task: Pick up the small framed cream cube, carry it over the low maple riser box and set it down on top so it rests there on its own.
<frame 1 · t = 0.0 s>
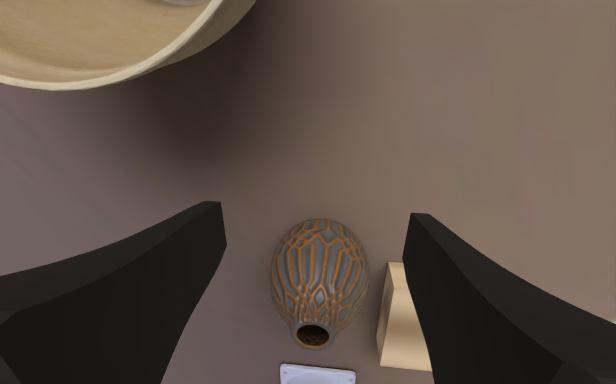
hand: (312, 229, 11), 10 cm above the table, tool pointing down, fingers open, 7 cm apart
vase: (322, 240, 24), on the table
maple riser: (433, 305, 25), on the table
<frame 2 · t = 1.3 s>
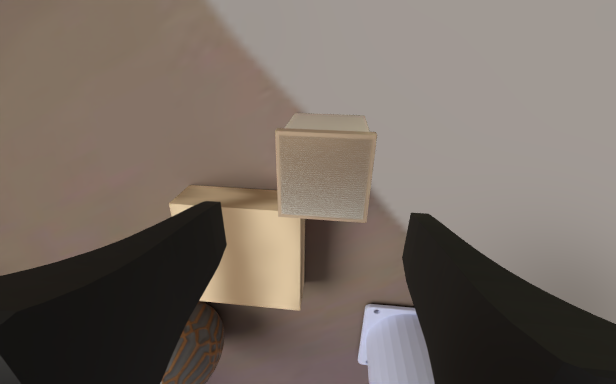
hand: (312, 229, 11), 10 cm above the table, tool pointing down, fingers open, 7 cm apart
vase: (200, 313, 29), on the table
framed cream cube: (327, 147, 20), on the table
maple riser: (250, 237, 24), on the table
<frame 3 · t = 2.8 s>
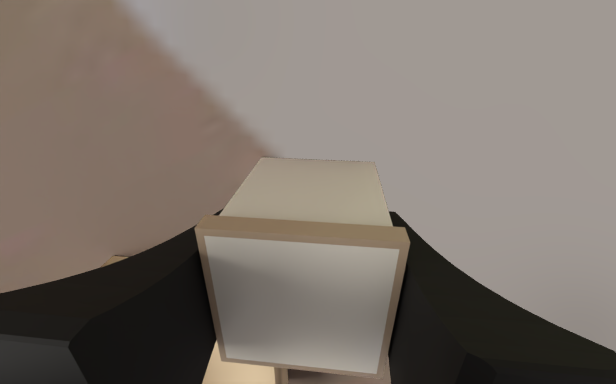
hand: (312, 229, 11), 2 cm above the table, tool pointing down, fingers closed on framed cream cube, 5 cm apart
framed cream cube: (315, 208, 12), on the table, touching gripper
maple riser: (209, 323, 17), on the table
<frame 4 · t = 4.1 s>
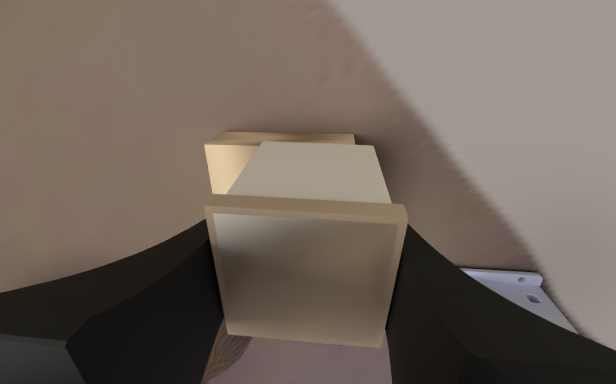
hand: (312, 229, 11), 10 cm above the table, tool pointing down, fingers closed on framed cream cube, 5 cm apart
vase: (229, 284, 27), on the table
framed cream cube: (315, 191, 13), point 8 cm above the table, touching gripper
maple riser: (289, 192, 22), on the table
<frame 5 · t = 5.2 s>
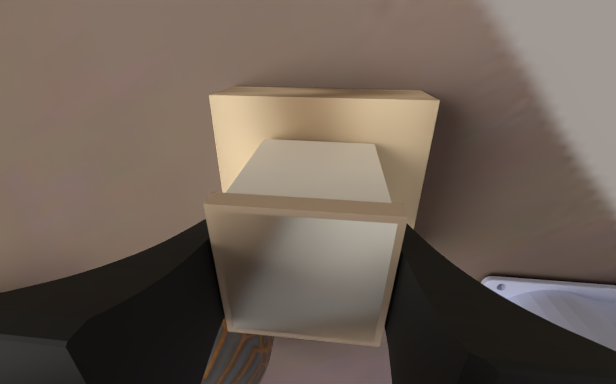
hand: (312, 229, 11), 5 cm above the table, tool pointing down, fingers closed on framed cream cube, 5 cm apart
vase: (236, 295, 21), on the table
framed cream cube: (316, 189, 13), point 3 cm above the table, touching gripper
maple riser: (321, 174, 16), on the table
when the fingers open (5 cm above the table, at t = 5.8 s): framed cream cube stays where it is, resting on maple riser.
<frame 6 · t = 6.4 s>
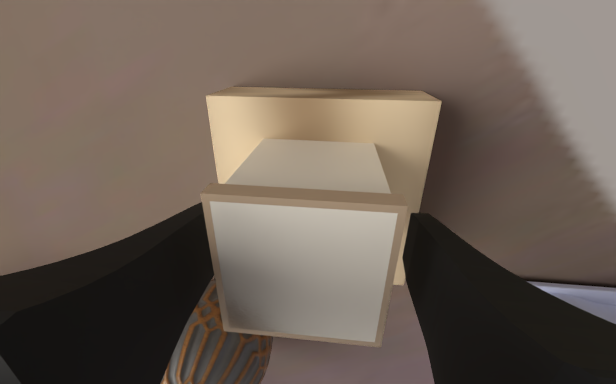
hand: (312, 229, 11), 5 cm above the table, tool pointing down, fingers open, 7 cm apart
vase: (234, 297, 21), on the table
framed cream cube: (316, 190, 13), point 3 cm above the table, touching maple riser
maple riser: (321, 176, 16), on the table
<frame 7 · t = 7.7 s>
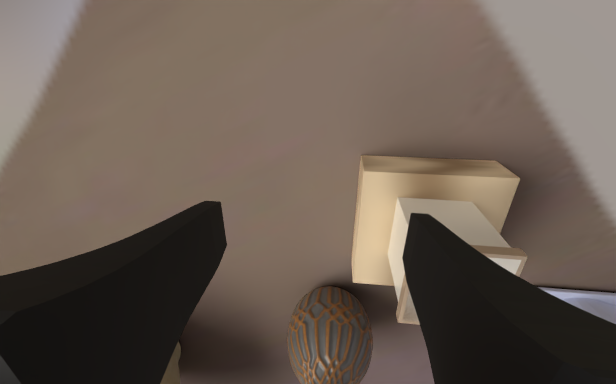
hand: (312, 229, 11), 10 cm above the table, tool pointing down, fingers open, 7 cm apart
vase: (331, 300, 27), on the table
planter bowl: (141, 335, 33), on the table
framed cream cube: (427, 229, 19), point 3 cm above the table, touching maple riser
maple riser: (415, 214, 22), on the table
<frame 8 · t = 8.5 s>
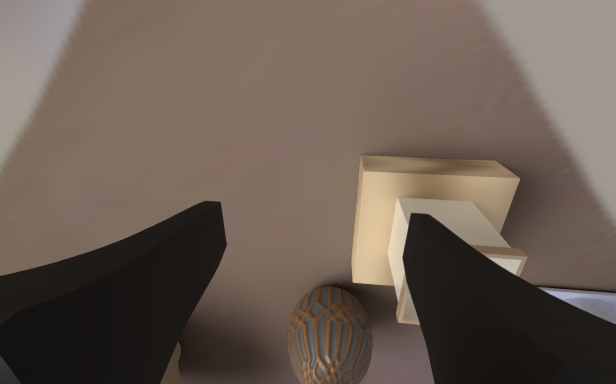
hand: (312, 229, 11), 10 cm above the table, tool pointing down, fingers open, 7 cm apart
vase: (331, 300, 27), on the table
planter bowl: (141, 335, 33), on the table
framed cream cube: (427, 229, 19), point 3 cm above the table, touching maple riser
maple riser: (415, 214, 22), on the table
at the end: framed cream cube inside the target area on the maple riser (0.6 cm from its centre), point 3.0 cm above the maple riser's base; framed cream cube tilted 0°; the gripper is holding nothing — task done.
